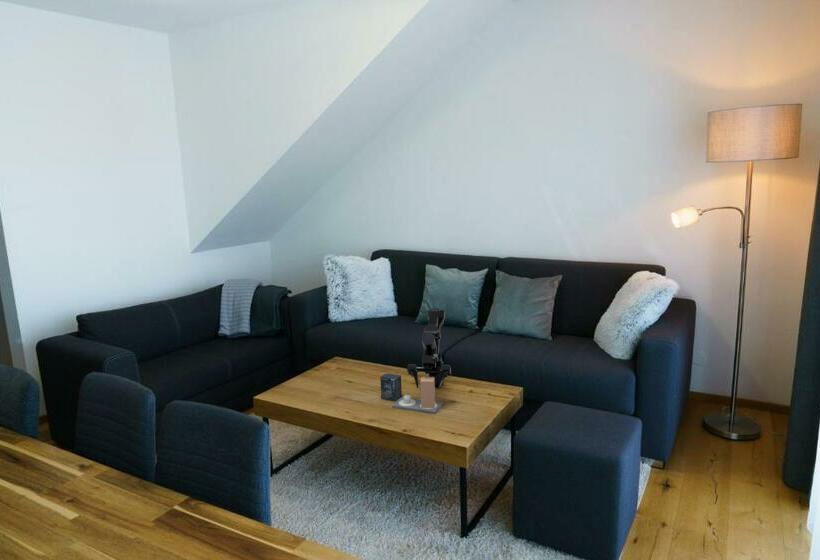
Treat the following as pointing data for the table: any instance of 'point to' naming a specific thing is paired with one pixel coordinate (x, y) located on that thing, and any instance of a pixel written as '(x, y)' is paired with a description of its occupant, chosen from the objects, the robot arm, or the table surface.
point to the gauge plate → (415, 405)
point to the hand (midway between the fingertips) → (428, 388)
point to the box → (391, 387)
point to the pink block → (427, 392)
